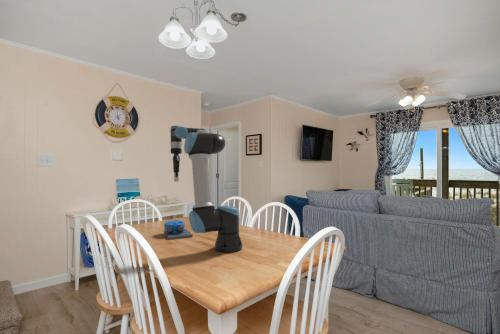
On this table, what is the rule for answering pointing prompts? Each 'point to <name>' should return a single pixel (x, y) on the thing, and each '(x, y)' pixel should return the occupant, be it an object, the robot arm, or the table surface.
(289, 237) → the table surface
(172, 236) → the mat
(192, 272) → the table surface
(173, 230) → the alarm clock
